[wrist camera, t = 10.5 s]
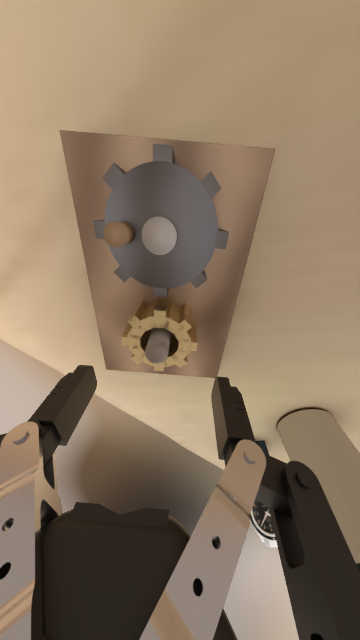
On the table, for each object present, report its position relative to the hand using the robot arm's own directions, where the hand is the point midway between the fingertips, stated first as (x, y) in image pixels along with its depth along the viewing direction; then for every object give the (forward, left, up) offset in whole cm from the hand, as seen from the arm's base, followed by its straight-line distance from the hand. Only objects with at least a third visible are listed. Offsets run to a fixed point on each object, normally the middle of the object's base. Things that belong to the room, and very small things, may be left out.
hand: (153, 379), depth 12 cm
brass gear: (0, 0, -7) cm, 7 cm away
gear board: (0, -3, -8) cm, 9 cm away
